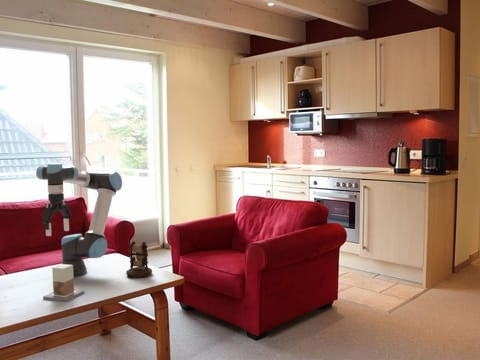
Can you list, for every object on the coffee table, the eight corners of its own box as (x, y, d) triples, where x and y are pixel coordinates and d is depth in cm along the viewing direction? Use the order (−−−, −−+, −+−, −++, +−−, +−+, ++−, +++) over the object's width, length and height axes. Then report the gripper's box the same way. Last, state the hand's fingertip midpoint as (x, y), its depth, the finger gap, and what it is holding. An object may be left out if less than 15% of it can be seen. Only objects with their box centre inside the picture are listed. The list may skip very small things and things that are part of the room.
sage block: (52, 281, 236) (52, 267, 235) (62, 277, 242) (61, 264, 242) (64, 282, 234) (63, 268, 233) (73, 278, 240) (72, 265, 240)
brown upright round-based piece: (156, 272, 279) (155, 239, 277) (145, 279, 265) (144, 245, 263) (133, 270, 283) (132, 238, 281) (121, 278, 268) (120, 243, 266)
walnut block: (53, 294, 237) (52, 281, 236) (63, 290, 243) (62, 277, 243) (65, 296, 234) (64, 282, 234) (74, 291, 241) (73, 278, 240)
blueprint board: (43, 299, 234) (43, 296, 234) (62, 290, 248) (62, 287, 248) (66, 301, 230) (66, 299, 230) (84, 292, 243) (84, 290, 243)
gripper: (44, 196, 230) (46, 238, 232) (77, 190, 254) (79, 229, 256) (32, 195, 233) (34, 237, 235) (66, 190, 256) (67, 228, 258)
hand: (57, 233), depth 245 cm, fingers open, 13 cm apart
